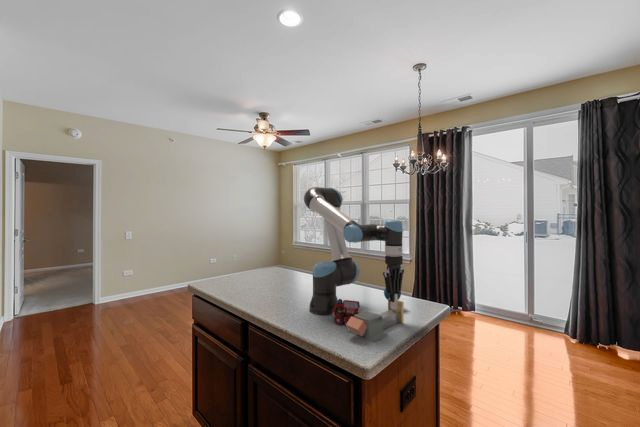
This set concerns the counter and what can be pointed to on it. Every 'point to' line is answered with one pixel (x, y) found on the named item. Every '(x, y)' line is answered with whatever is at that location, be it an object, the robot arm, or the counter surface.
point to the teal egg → (389, 294)
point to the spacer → (356, 326)
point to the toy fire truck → (344, 311)
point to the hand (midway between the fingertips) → (393, 308)
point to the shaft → (392, 316)
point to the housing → (372, 325)
